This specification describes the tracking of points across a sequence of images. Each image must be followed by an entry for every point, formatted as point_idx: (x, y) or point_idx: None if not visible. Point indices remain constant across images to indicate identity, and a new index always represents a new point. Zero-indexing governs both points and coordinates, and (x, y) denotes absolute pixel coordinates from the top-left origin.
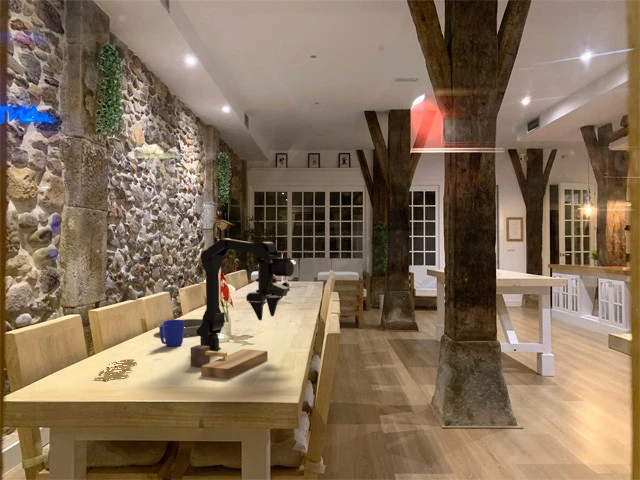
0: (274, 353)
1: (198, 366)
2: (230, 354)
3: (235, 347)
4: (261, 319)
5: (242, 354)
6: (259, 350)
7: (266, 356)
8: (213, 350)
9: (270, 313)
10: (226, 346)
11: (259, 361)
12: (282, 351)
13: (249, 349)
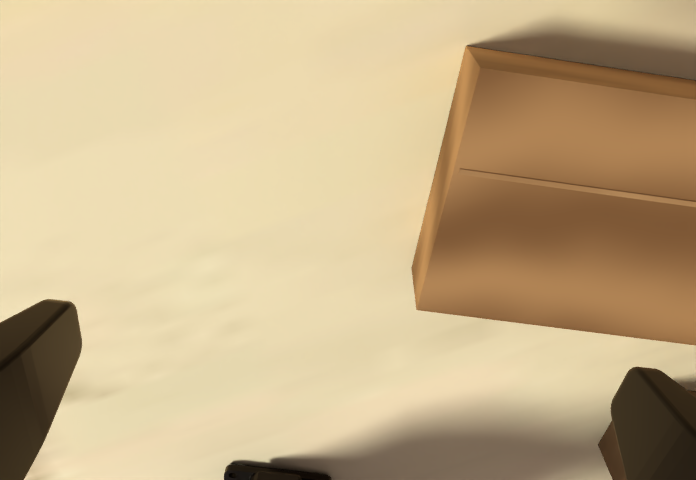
0: (224, 64)
1: None
2: (622, 333)
3: (150, 409)
4: (657, 373)
5: (629, 249)
6: (464, 159)
7: (493, 57)
8: (309, 478)
9: (55, 401)
10: (149, 458)
11: (626, 73)
12: (117, 10)
13: (430, 260)
